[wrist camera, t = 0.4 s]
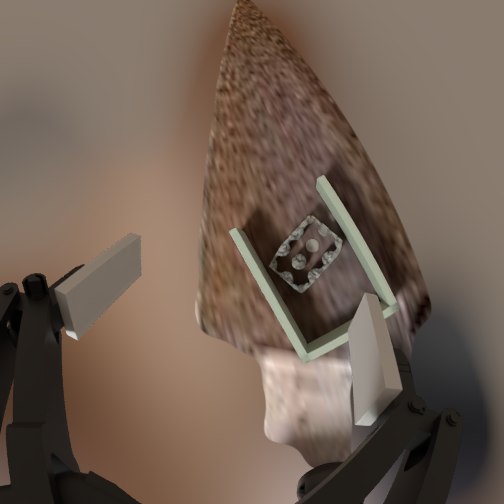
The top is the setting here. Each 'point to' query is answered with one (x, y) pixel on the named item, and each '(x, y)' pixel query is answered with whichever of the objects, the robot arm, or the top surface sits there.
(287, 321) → the u-shaped frame
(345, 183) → the top surface
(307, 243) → the egg carton
